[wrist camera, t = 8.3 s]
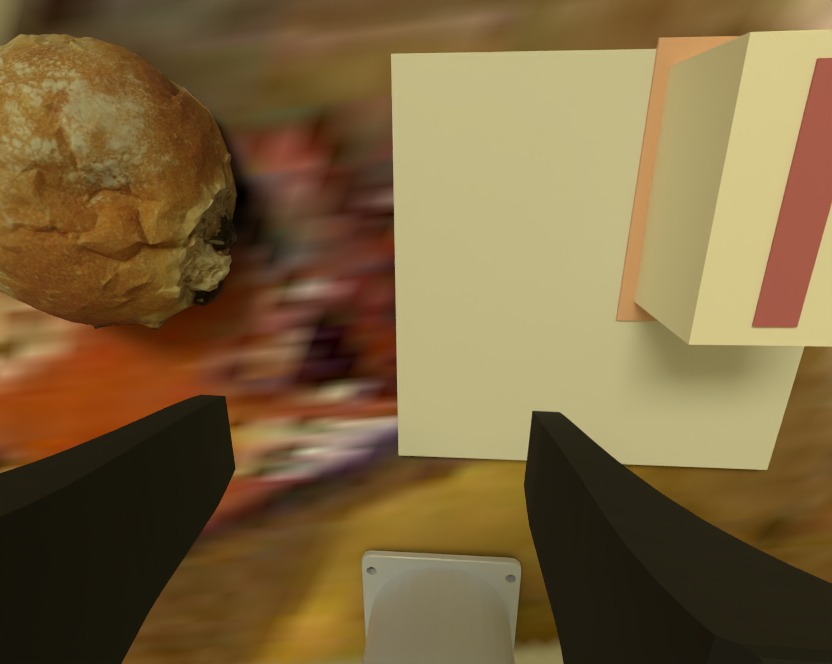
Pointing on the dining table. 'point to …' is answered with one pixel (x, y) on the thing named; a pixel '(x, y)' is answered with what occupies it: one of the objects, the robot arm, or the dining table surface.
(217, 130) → the bread roll
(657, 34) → the dining table surface
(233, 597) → the dining table surface
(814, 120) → the card box
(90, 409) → the dining table surface
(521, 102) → the mat
